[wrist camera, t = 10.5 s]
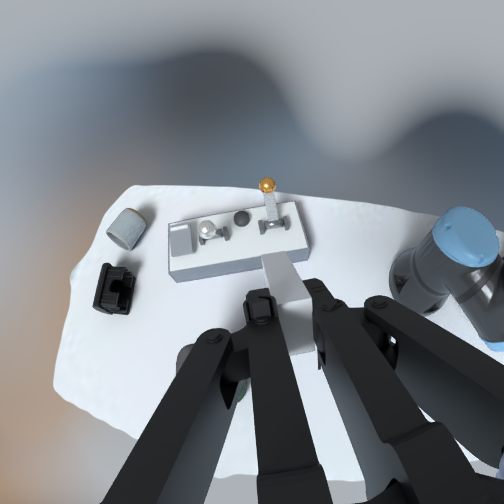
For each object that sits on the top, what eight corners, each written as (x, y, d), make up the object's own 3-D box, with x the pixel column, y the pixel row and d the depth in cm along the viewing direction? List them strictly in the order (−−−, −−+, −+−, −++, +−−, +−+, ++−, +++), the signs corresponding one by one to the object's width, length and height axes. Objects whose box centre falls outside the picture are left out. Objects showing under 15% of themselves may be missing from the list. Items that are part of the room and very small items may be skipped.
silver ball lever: (224, 241, 55) (217, 235, 44) (206, 244, 55) (196, 239, 44) (221, 225, 55) (214, 216, 45) (203, 228, 55) (193, 220, 45)
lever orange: (284, 228, 52) (276, 175, 50) (266, 231, 52) (257, 178, 50) (281, 225, 56) (274, 176, 53) (264, 228, 56) (256, 179, 53)
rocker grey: (193, 253, 53) (192, 251, 51) (172, 257, 53) (170, 255, 51) (190, 223, 55) (189, 220, 53) (170, 227, 55) (168, 225, 53)
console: (307, 260, 57) (311, 244, 51) (176, 282, 57) (165, 269, 51) (294, 214, 62) (295, 195, 56) (175, 235, 62) (165, 218, 56)
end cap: (112, 274, 59) (97, 261, 53) (136, 275, 58) (123, 262, 52) (103, 314, 55) (87, 305, 49) (128, 317, 54) (113, 308, 48)
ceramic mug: (153, 227, 64) (140, 209, 57) (135, 255, 61) (120, 238, 54) (124, 216, 67) (111, 199, 60) (107, 241, 64) (92, 225, 57)
